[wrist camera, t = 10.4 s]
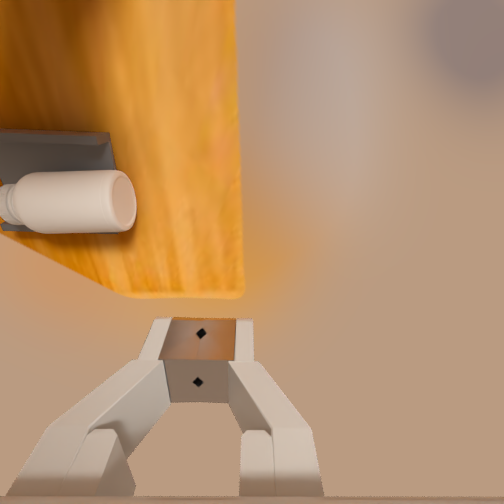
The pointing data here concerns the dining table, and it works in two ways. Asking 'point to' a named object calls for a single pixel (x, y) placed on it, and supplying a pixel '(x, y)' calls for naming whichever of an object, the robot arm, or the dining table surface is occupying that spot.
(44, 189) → the pill bottle
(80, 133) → the u rest
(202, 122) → the dining table surface
